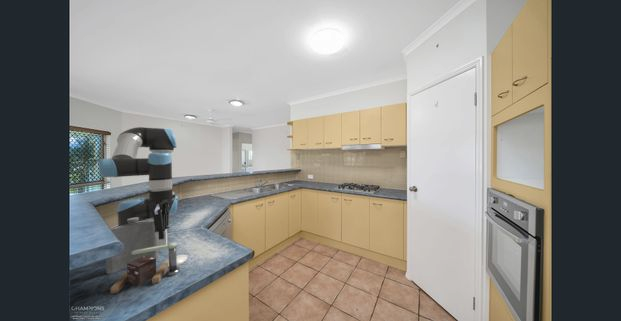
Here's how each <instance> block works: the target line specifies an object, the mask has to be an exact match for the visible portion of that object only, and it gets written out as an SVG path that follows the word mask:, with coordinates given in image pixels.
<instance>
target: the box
mask: <svg viewBox="0 0 621 321" xmlns="http://www.w3.org/2000/svg"><path fill="white" fill-rule="evenodd" d="M126 269H127V270H126V271H127V279H128V282H127V284H129V285H132V286H135V287H140V286H141V285H143V284H145V283H146V282H148V281H150V280H152V278H153V276H154V275H155V274H156V272H157V259H156V258H155V257H151V256H143V257H141V258H139V259H137V260H134V261H132V262H130V263H127V268H126Z"/></svg>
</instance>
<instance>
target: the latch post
mask: <svg viewBox="0 0 621 321" xmlns="http://www.w3.org/2000/svg"><path fill="white" fill-rule="evenodd" d="M176 255H177V247H175V248H173V249H168V258H169V268H168V269H167V270H166V272H165V276H166V277H172V276H175V275H177V274H179V273H180V272H181V268H180V267H178V266H177V256H176Z"/></svg>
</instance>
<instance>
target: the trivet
mask: <svg viewBox="0 0 621 321" xmlns="http://www.w3.org/2000/svg"><path fill="white" fill-rule="evenodd" d="M176 256H177V267H178V266H180V265H182V264H184V263H186V261H188V255H187V254H176ZM165 263H168V269H169V257H168V258H166V259H165V260H163V261H162V263H161V265H162V264H165Z"/></svg>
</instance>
